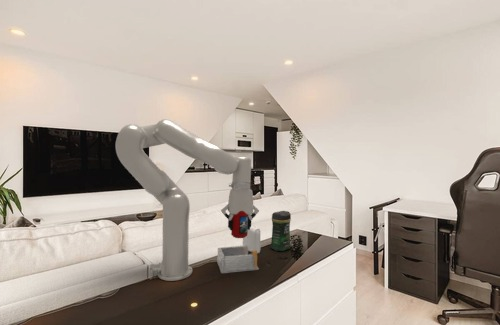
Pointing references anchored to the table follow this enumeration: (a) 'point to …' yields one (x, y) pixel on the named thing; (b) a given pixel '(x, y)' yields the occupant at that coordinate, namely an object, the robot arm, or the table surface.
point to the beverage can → (240, 225)
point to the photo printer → (252, 239)
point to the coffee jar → (281, 230)
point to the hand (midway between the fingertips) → (239, 228)
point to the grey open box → (236, 259)
